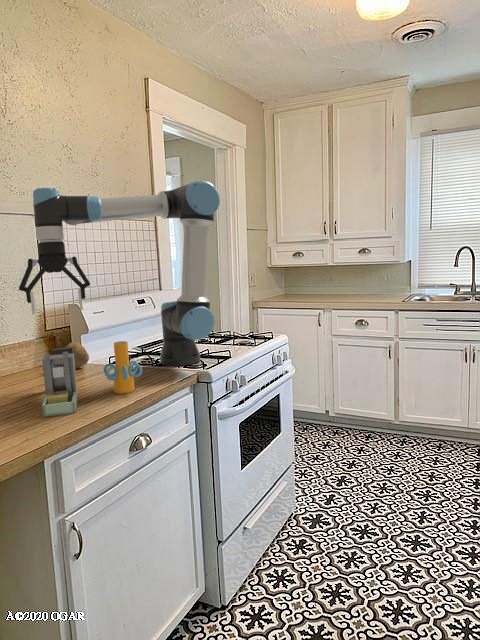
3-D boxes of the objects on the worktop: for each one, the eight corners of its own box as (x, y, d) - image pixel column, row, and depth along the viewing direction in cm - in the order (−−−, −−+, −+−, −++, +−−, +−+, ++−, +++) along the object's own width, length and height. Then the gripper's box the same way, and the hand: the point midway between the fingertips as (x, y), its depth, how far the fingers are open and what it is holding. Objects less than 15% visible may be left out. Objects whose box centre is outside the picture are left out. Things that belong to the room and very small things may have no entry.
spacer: (69, 404, 136) (68, 390, 135) (68, 408, 132) (66, 394, 131) (50, 406, 135) (49, 392, 134) (48, 410, 131) (47, 396, 130)
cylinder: (103, 389, 152) (99, 341, 150) (137, 384, 156) (133, 337, 154) (109, 399, 141) (105, 347, 139) (146, 393, 145) (142, 343, 143)
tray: (77, 401, 140) (76, 391, 139) (75, 412, 129) (74, 401, 129) (47, 405, 137) (45, 395, 137) (43, 417, 127) (41, 405, 127)
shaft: (74, 365, 157) (72, 347, 157) (70, 381, 136) (68, 360, 136) (54, 367, 156) (52, 349, 155) (47, 384, 135) (45, 362, 134)
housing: (77, 396, 145) (73, 346, 143) (76, 404, 137) (71, 351, 135) (48, 399, 143) (43, 349, 141) (45, 408, 134) (40, 354, 132)
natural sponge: (59, 369, 184) (56, 342, 183) (82, 364, 190) (79, 339, 189) (69, 372, 178) (66, 345, 176) (92, 367, 183) (90, 341, 182)
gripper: (94, 240, 155) (100, 307, 157) (7, 243, 148) (15, 313, 151) (94, 239, 147) (100, 309, 150) (3, 242, 141) (11, 316, 143)
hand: (58, 311), depth 150 cm, fingers open, 13 cm apart
